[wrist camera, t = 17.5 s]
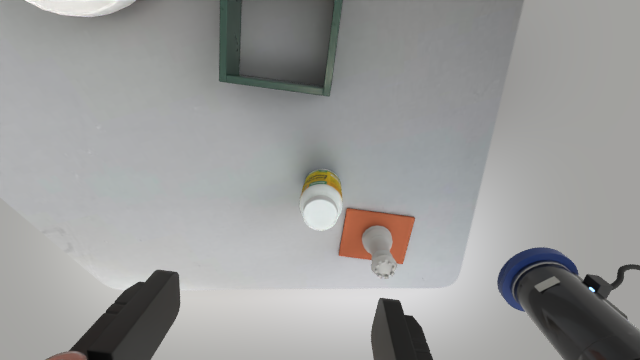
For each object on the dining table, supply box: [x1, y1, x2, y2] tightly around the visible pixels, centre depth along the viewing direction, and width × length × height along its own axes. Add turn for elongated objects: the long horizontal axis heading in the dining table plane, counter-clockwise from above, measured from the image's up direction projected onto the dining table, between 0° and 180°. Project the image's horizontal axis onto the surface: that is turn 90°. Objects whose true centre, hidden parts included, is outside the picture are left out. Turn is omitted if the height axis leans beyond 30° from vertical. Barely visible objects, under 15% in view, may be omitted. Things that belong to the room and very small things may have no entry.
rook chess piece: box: [362, 226, 397, 279], centre depth 41 cm, size 4×4×8 cm
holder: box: [219, 0, 343, 96], centre depth 34 cm, size 13×13×5 cm
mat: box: [339, 208, 415, 264], centre depth 45 cm, size 10×8×1 cm
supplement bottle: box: [299, 169, 343, 231], centre depth 38 cm, size 5×5×10 cm
